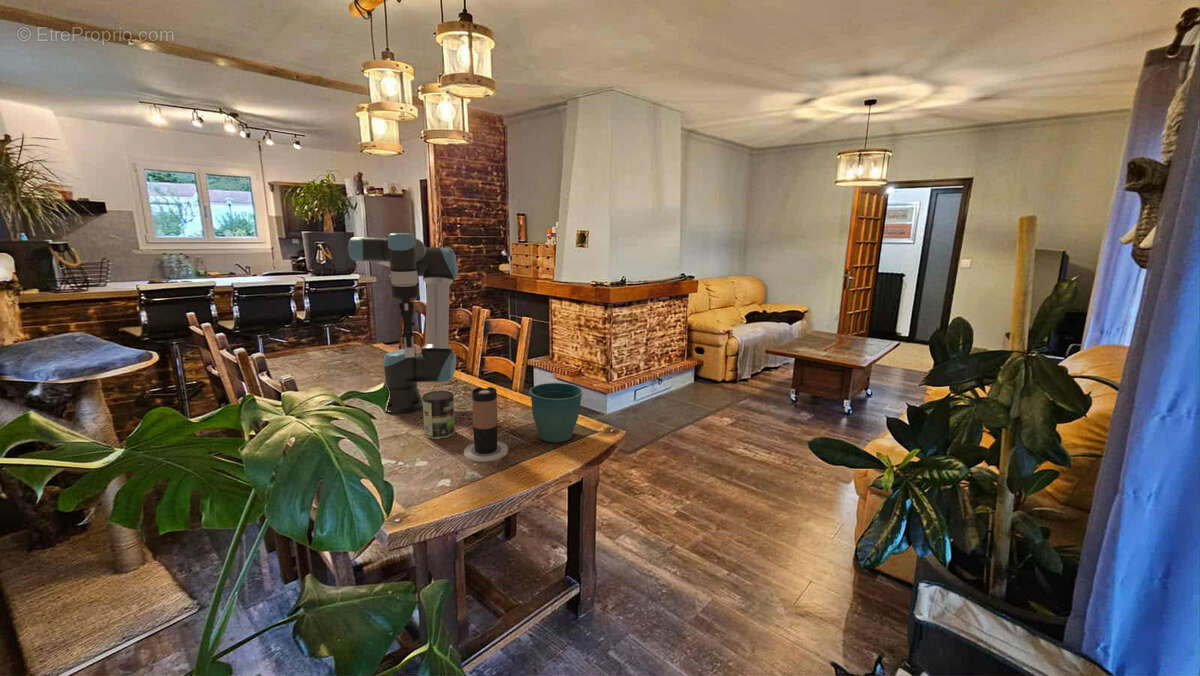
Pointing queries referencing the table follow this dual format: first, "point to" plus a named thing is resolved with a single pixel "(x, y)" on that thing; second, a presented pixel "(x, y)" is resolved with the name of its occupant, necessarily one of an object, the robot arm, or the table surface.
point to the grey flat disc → (498, 454)
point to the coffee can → (438, 414)
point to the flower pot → (555, 410)
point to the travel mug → (485, 420)
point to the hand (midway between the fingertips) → (409, 351)
